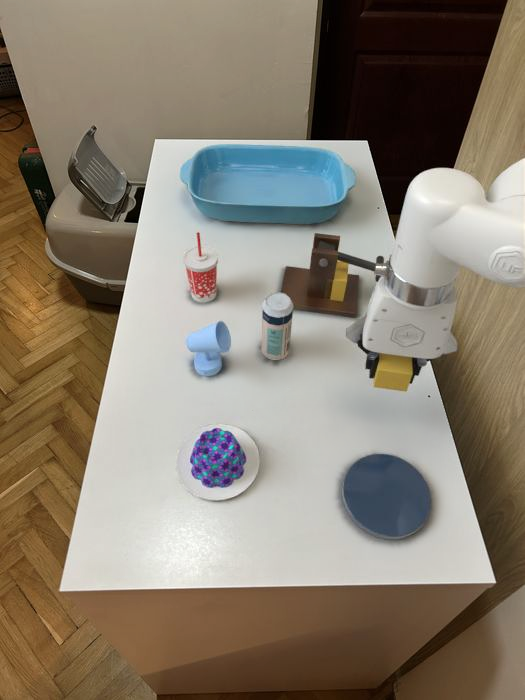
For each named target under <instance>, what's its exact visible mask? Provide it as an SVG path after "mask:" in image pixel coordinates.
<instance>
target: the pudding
mask: <svg viewBox="0 0 525 700" xmlns="http://www.w3.org/2000/svg"><path fill="white" fill-rule="evenodd" d="M260 463H261V459H260V452H259V449H258V446H257V445H256V442H255V441H254V439H253V438H252V437H251V436H250V435H249V433H247V432H246V431H244V430H242V429H241V428H239V427H236V426H234V425H231V424H224V423H218V424H217V423H216V424H209V425H205V426H203V427H200V428H198V429H196V430H195V431H193V432H191V433H190V434H189V435H188V436H187V437H186V438H185V439H184V440H183V441H182V443H181V445H180V446H179V448H178V451H177V454H176V458H175V470H176V475H177V477H178V479H179V481H180V483H181V485H182V486H183V487H184V488H185V489H186V490H187V491H188V492H189V493H191V494H192V495H194V496H196V497H198V498H200V499H203V500H208V501H225V500H229V499H232V498H233V497H237V496H239V495H240V494H241V493H243V492H245V491H246V490H247V489H248V488H249V487H250V486H251V485H252V484H253V482H254V481H255V479H256V477H257V475H258V474H259V473H258V472H259V469H260Z"/></svg>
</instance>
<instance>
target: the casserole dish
mask: <svg viewBox="0 0 525 700" xmlns="http://www.w3.org/2000/svg"><path fill="white" fill-rule="evenodd" d="M179 178H180V180H181V182H182V183H184V184H185V185H187V188H188V192H189V194H190V197H191V198H192V200H193V202H194V205H195V207H196V208H197V209H198V211H199V212H200V213H201V214H203V215H204V216H206V217H207V218H211V219H214V220H219V221H225V222H239V223H240V222H241V223H242V222H243V223H262V224H263V223H265V224H289V225H290V224H292V225H294V224H295V225H303V224H304V225H308V224H309V225H310V224H311V225H312V224H313V225H314V224H320V223H325V222H327V221H329V220H330V219H332V218H334V217H335V215H336V214H337V213H338V211H340V208H341V206H342V205H343V203H344V201H345V199H346V197H347V194H348V192H349V191H350V190H352V189H353V188H354V187H356V185H357V176H356V172H355V170H354V168H353V167H351V166H350V165H349V164H347V163H346V162H344V160H343V159H342V157H341V156H340V155H339V154H338V153H336V152H334V151H332V150H330V149H326V148H321V147H312V146H299V145H298V146H295V145H273V144H271V145H270V144H241V143H238V144H237V143H236V144H235V143H232V144H231V143H222V144H221V143H220V144H212V145H211V144H210V145H207V146H204V147H202V148H200V149H199V150H197V151H196V152H195V153H194V154H193V156H192V157H190V158H189V159H188V160H186V161H184V162H183V164H182V165H181V167H180V170H179Z"/></svg>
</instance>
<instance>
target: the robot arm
mask: <svg viewBox="0 0 525 700" xmlns="http://www.w3.org/2000/svg"><path fill="white" fill-rule="evenodd" d="M400 213H401V214H400V217H399V222H398V226H397V230H396V235H395V238H394V243H393V246H392V251H391V254H390V255H389V258H388V260H386V262H384V263H382V264H379V263H376V262H375V263H376V265H375V272H374V271H373V274H374V276H376V275H381V277H380V279H379V280H378V282H376V284H375V287H374V288H373V291H372V293H371V296H370V299H369V301H368V305H367V306H366V307H367V308H366V310H365V314H364V316H362V317H361V318H359V319H358V320H357V321H355V322H354V323H352V324H350V325H349V326H348V327H346V329H345V338H346V339H347V340H349V341H350V342H352V343H353V344H356V345H357V347H358V348H359V349H360V350H361V351H363V353H365V354H366V358H365V366H364V367H365V370H369V373H368V377H369V379H373V380H374V377H375V373H376V370H377V366H378V362H379V353H384V354H391V355H399V356H407V357H412V367H413V375H412V377H411V380H410V383H409V385H412V384H413V382H414V379H415V377H416V376H417V377H419V375H420V373H421V371H422V367H426V366H427V364H428V362H430V361H433V360H435V359H438V358H441V356H442V355H444V356H445V355H448V354H452V353H455V352H457V351H458V350H459V349H458V341H457V339H456V338H455V336H454V335H453V332H452V331H451V330H452V327H453V323H454V319H455V315H456V309H457V303H458V292H457V288H456V285H455V284H456V281H457V279H458V276H459V272H460V270H461V268H465V269H467V270H469V271H471V272H473V273H474V274H477V275H478V276H480V277H482V278H484V279H486V280H489V281H491V282H492V283H495V284H498V285H501V286H505V287H509V288H515V289H516V288H517V289H520V288H521V289H523V288H525V157H524V158H521V159H520V160H518V161H516V162H514V163H512V164H511V165H510V166H509V167H508V168H506V169H504V170H503V171H502V172H501V173H500V174H499V175H498V176H497V177H496V178H495V179H494V180H493V182H492V183H491V186H490V187H489V189H488V192H487V195H486V193H485V190H484V187H483V186H482V183H480V181H478V180H477V178H475V177H474V176H472V175H471V174H469V173H467V172H465V171H464V170H463V171H462V170H459V169H457V168H456V169H455V168H450V167H434V168H430V169H427V170H424V171H422V172H420V173H419V174H418V175H416V176H415V177H414V178H413V179H412V181H410V183H409V185H408V188H407V191H406V193H405V197H404V201H403V206H402V208H401V212H400Z"/></svg>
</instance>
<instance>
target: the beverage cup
mask: <svg viewBox="0 0 525 700" xmlns="http://www.w3.org/2000/svg"><path fill="white" fill-rule="evenodd" d="M196 240H197V241H196V243H197V245H193V246H190V247H189V248H187V249H186V250H185V251H184V253H183V254H182V263H183V265H184V267H185V271H186V276H187V281H188V285H189V289H190V294H191V297H192V299H193V300H194V301H195V302H198V303H209V302H212V301H213V300H214V299H215V298H216V296H217V282H218V281H217V275H218V274H217V272H218V271H217V269H218V268H217V267H218V264H219V254H218V252H217V250H216V249H214V248H213V247H212V246H208V245H206V244H205V245H204V244H203V245H202V243H201V233H200V232H196Z"/></svg>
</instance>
